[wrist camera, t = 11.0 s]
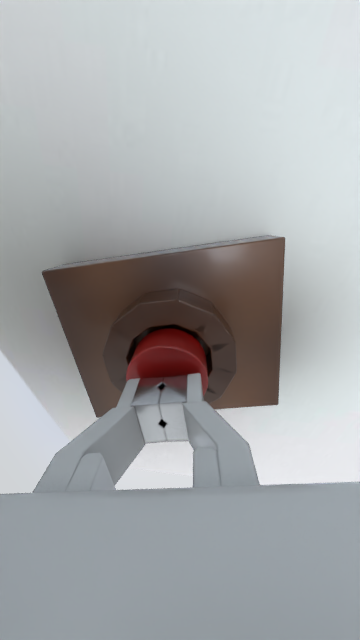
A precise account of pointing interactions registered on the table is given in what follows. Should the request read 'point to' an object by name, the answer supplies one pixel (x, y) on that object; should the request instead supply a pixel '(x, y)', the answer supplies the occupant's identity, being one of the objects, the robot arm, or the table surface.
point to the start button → (168, 356)
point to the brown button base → (178, 315)
